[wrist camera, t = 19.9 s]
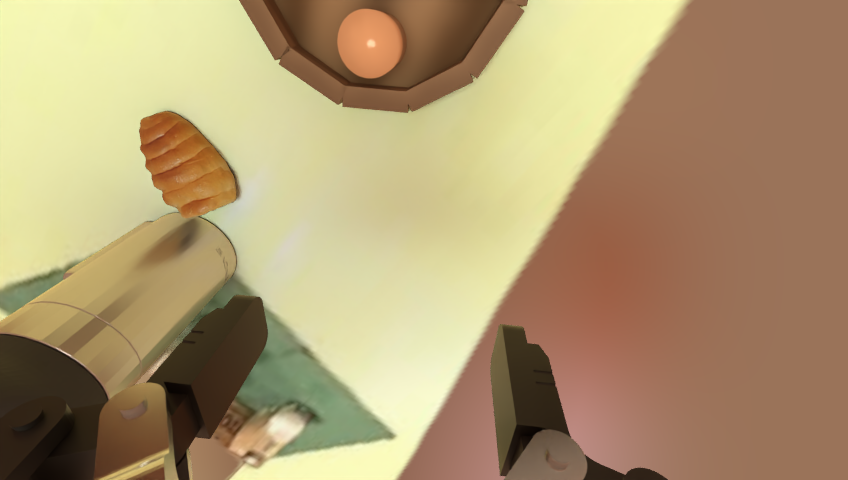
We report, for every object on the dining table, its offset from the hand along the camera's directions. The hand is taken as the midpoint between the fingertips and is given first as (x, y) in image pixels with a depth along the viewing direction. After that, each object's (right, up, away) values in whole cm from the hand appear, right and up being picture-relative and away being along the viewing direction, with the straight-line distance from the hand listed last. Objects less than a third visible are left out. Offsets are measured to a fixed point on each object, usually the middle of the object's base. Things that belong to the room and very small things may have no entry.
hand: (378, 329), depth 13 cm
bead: (-2, +18, +15) cm, 24 cm away
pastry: (-20, +10, +23) cm, 32 cm away
